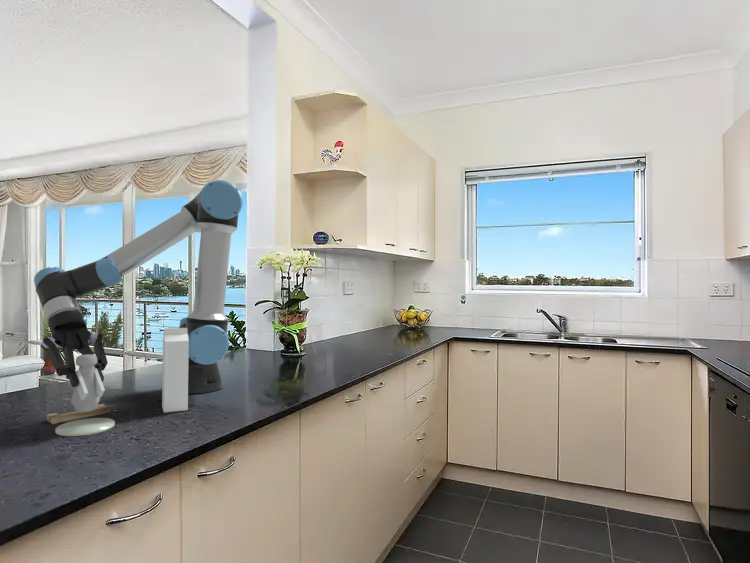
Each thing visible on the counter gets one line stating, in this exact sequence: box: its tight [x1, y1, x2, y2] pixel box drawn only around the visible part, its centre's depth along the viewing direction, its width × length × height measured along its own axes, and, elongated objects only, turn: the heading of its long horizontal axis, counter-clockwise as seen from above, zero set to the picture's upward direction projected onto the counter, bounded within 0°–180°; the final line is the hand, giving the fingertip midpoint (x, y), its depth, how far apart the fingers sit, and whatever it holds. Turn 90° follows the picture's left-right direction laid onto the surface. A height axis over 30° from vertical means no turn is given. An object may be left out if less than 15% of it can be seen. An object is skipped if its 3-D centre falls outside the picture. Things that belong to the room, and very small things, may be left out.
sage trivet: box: [54, 417, 116, 437], centre depth 112 cm, size 12×12×1 cm
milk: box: [161, 327, 189, 413], centre depth 129 cm, size 6×6×22 cm
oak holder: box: [46, 403, 110, 425], centre depth 120 cm, size 4×13×2 cm, turn 143°
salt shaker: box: [70, 354, 101, 412], centre depth 112 cm, size 6×6×13 cm
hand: (93, 394), depth 109 cm, fingers closed on salt shaker, 3 cm apart
